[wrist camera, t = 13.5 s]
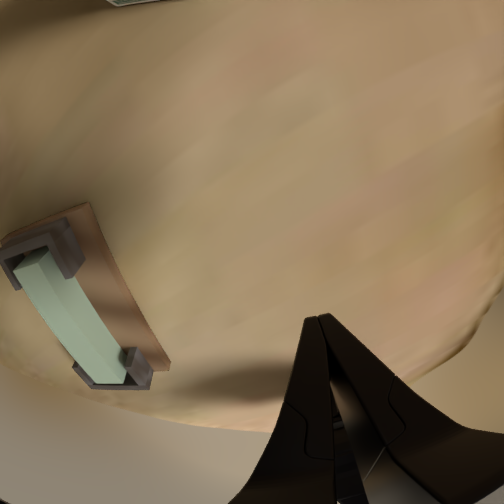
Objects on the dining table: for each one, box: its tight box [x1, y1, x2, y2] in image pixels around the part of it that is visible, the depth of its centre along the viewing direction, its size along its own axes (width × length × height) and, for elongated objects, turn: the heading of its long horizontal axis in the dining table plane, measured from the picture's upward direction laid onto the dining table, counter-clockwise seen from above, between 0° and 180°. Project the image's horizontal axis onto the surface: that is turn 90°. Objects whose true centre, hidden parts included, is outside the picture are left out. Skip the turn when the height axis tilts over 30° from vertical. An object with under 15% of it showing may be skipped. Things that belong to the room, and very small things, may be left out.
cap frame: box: [0, 202, 171, 390], centre depth 22 cm, size 18×11×4 cm, turn 12°
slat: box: [13, 246, 127, 384], centre depth 22 cm, size 14×4×3 cm, turn 13°
